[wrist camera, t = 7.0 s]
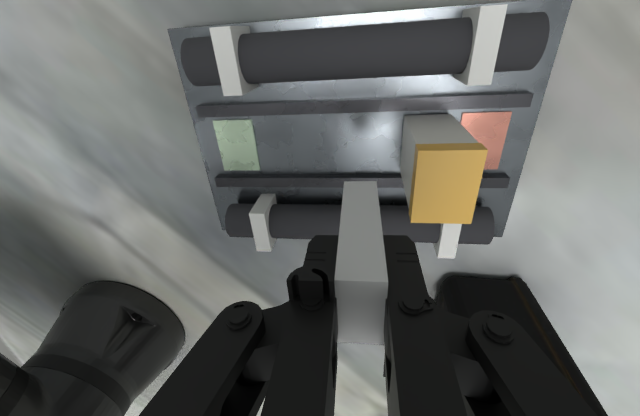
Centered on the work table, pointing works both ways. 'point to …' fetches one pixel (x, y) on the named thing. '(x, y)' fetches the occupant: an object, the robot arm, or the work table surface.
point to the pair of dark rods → (355, 63)
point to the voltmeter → (524, 309)
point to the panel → (361, 121)
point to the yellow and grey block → (440, 169)
